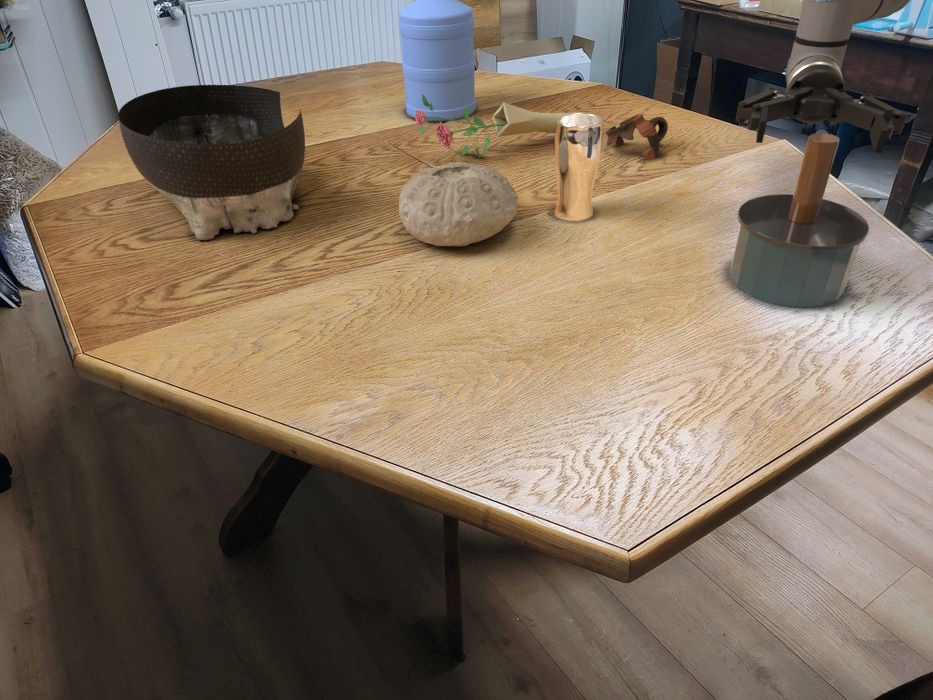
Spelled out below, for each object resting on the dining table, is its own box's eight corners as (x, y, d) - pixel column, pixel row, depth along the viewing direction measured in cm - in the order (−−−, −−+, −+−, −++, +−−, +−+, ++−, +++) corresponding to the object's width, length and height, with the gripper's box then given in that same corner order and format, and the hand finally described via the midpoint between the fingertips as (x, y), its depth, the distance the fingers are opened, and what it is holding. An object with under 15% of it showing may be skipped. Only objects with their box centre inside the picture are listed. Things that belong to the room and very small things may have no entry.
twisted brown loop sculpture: (637, 171, 123) (619, 128, 120) (609, 177, 132) (591, 137, 129) (687, 140, 126) (670, 98, 123) (655, 149, 134) (639, 109, 132)
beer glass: (564, 228, 104) (569, 130, 95) (543, 210, 109) (547, 116, 100) (604, 220, 106) (613, 123, 97) (582, 203, 111) (588, 109, 102)
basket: (310, 156, 133) (295, 68, 124) (321, 233, 105) (303, 128, 96) (157, 173, 128) (130, 83, 119) (127, 258, 101) (87, 150, 91)
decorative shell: (408, 208, 112) (403, 148, 106) (517, 207, 111) (518, 147, 105) (393, 261, 97) (386, 194, 91) (518, 261, 96) (519, 194, 90)
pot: (839, 266, 92) (858, 207, 87) (844, 319, 82) (866, 256, 77) (732, 252, 96) (745, 195, 91) (725, 300, 86) (739, 239, 81)
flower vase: (578, 179, 138) (423, 177, 121) (550, 144, 145) (399, 138, 128) (603, 128, 130) (441, 118, 113) (573, 93, 137) (415, 79, 120)
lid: (861, 210, 88) (890, 123, 81) (871, 263, 77) (905, 167, 70) (739, 197, 92) (757, 113, 86) (732, 245, 81) (752, 153, 75)
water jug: (483, 119, 148) (480, -27, 132) (411, 126, 146) (400, -22, 129) (467, 99, 161) (463, -37, 144) (401, 105, 158) (389, -32, 142)
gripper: (901, 122, 99) (923, 176, 83) (721, 109, 106) (709, 156, 90) (920, 68, 94) (947, 113, 78) (730, 58, 102) (720, 98, 86)
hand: (820, 137), depth 84 cm, fingers open, 13 cm apart
